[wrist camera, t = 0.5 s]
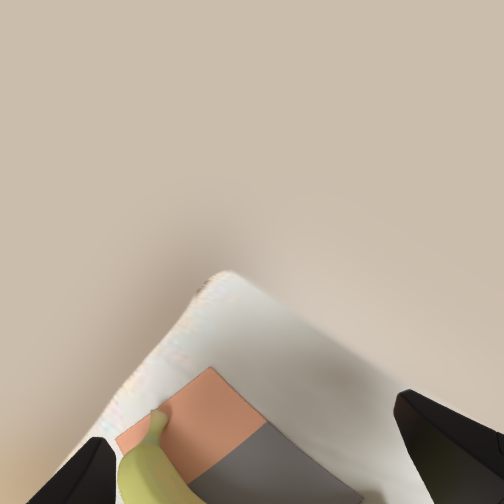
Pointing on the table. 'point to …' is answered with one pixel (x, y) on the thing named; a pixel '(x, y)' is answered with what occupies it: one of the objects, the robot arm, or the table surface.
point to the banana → (152, 471)
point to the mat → (270, 475)
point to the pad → (199, 425)
